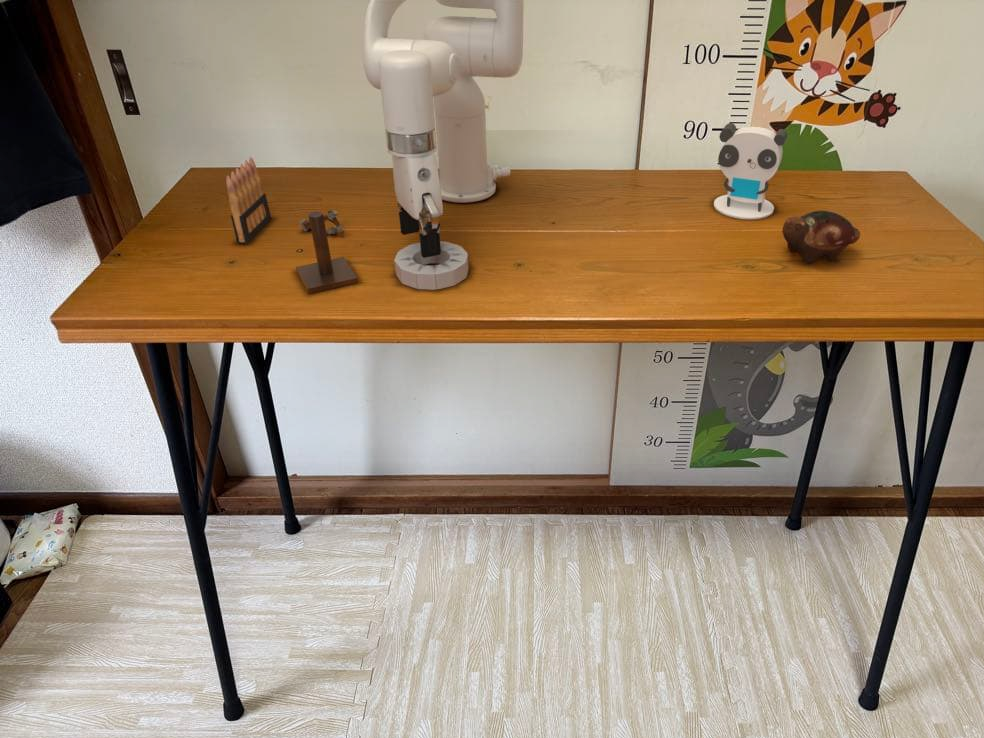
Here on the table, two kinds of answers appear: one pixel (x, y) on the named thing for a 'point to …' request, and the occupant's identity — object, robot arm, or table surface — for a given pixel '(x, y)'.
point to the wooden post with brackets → (331, 214)
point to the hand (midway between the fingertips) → (420, 243)
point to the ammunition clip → (247, 202)
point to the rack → (324, 262)
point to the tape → (432, 267)
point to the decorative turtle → (819, 235)
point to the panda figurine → (748, 170)
